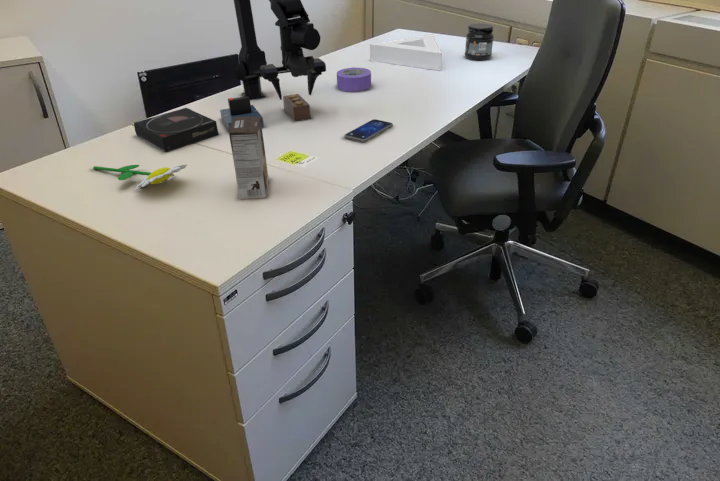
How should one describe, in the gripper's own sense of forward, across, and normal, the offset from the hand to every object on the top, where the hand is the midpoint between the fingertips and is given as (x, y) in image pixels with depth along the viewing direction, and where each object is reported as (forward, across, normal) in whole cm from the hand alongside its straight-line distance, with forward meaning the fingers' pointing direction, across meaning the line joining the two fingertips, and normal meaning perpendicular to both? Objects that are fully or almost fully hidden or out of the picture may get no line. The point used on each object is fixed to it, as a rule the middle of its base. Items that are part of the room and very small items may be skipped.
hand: (295, 97), depth 166 cm
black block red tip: (+2, -17, 0) cm, 17 cm away
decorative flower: (+6, -49, -27) cm, 56 cm away
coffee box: (+6, -24, -43) cm, 50 cm away
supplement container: (+5, +84, +29) cm, 89 cm away
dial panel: (+5, -17, 0) cm, 18 cm away
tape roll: (+6, +26, +17) cm, 31 cm away
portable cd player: (+6, -36, -1) cm, 36 cm away
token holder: (+5, 0, 0) cm, 5 cm away
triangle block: (+6, +56, +39) cm, 68 cm away
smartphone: (+5, +14, -23) cm, 28 cm away
